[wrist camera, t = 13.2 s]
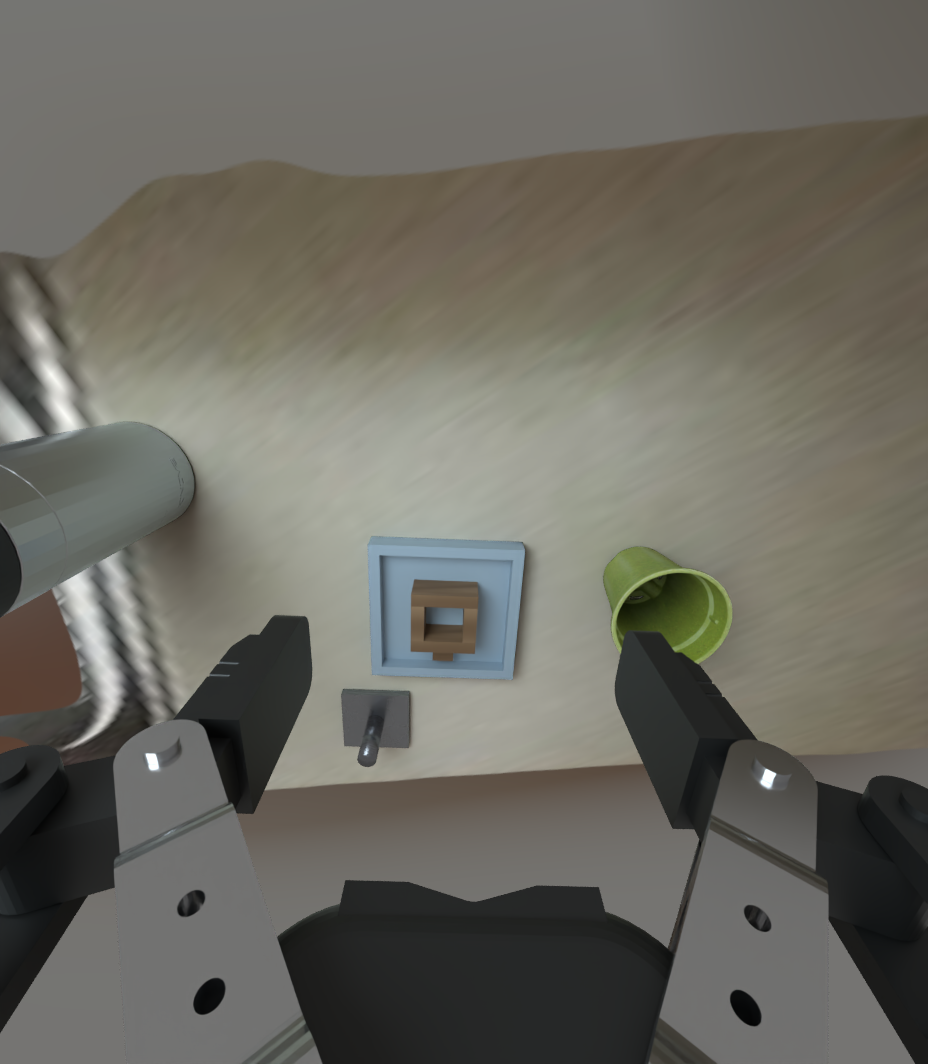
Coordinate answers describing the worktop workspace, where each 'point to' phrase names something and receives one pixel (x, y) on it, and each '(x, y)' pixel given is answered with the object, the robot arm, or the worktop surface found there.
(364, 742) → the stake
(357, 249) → the worktop surface
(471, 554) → the tray
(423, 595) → the brown hollow rectangular frame
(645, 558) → the plant pot
